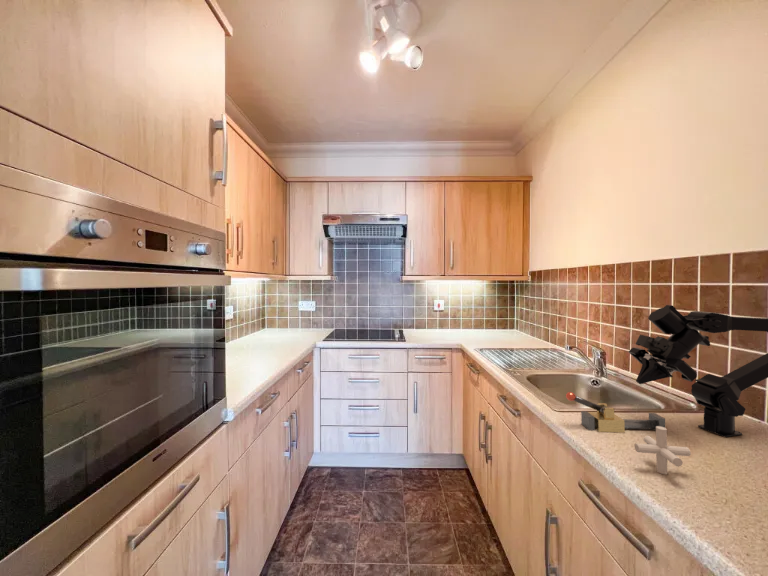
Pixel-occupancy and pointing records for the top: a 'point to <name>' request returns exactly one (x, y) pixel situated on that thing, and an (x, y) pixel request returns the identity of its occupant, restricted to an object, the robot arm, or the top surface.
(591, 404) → the valve lever
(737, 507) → the top surface
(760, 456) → the top surface
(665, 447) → the pipe connector
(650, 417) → the valve pipe
